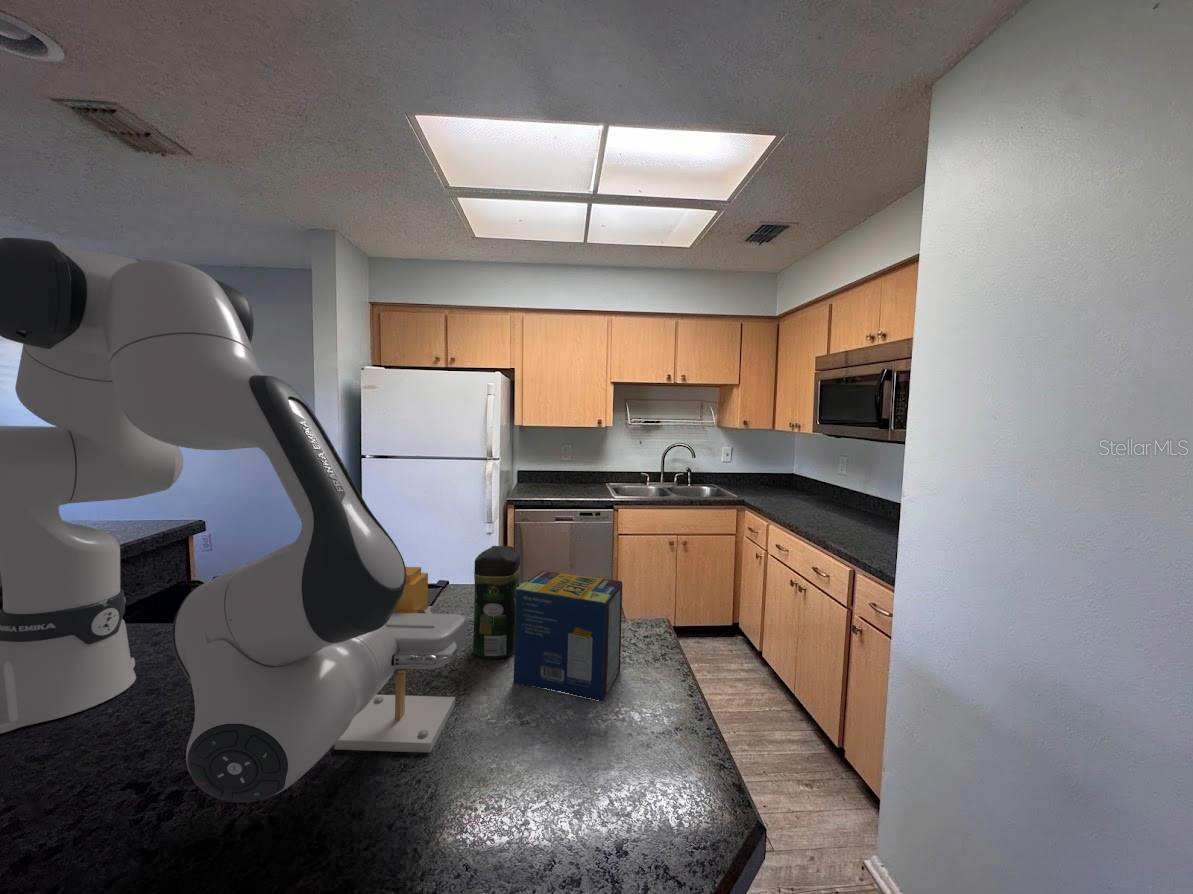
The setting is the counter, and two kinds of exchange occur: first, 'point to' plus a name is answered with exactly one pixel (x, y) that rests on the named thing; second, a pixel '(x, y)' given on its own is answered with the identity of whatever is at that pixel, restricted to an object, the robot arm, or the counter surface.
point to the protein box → (568, 633)
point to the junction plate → (398, 722)
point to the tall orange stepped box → (413, 592)
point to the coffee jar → (495, 601)
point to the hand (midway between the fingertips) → (404, 610)
